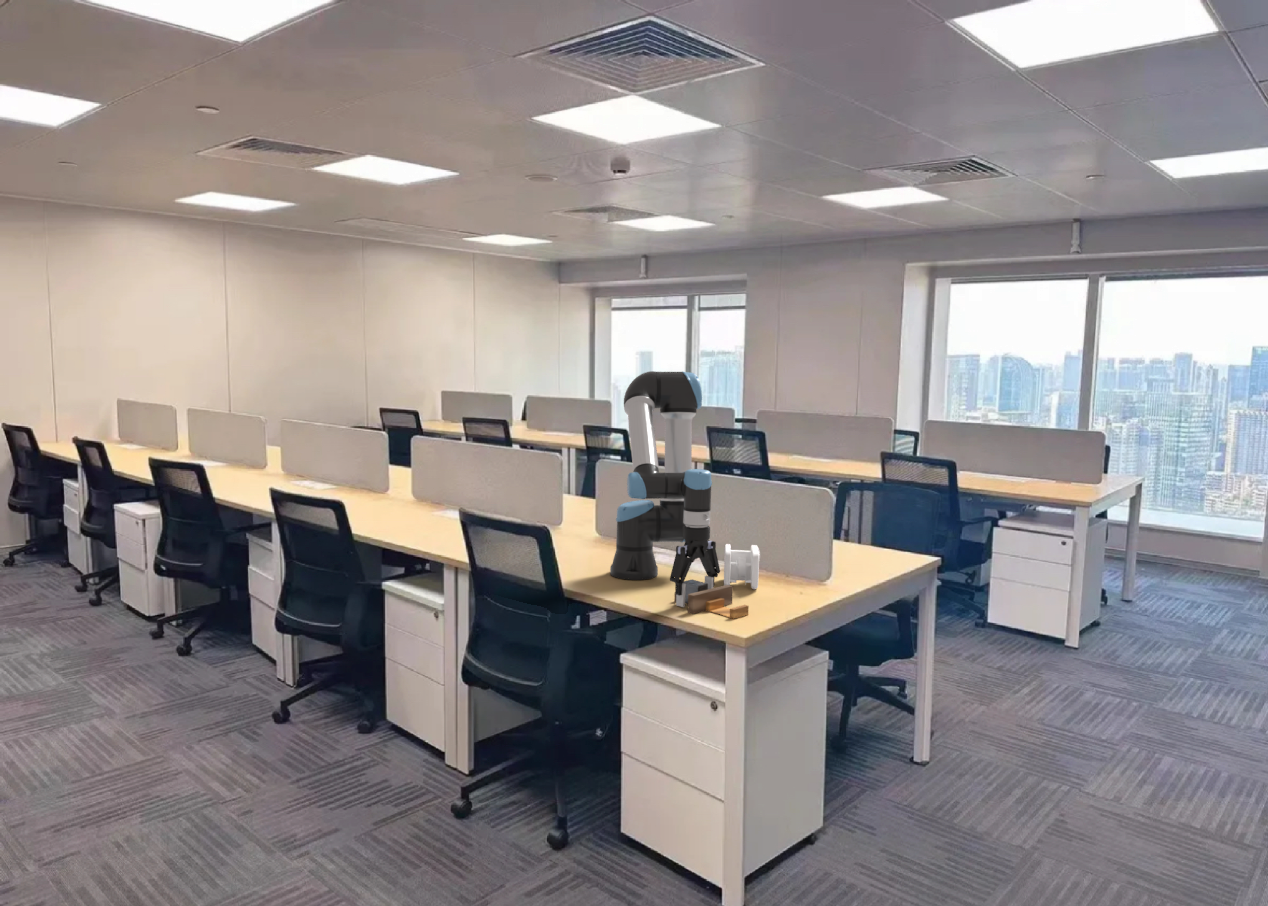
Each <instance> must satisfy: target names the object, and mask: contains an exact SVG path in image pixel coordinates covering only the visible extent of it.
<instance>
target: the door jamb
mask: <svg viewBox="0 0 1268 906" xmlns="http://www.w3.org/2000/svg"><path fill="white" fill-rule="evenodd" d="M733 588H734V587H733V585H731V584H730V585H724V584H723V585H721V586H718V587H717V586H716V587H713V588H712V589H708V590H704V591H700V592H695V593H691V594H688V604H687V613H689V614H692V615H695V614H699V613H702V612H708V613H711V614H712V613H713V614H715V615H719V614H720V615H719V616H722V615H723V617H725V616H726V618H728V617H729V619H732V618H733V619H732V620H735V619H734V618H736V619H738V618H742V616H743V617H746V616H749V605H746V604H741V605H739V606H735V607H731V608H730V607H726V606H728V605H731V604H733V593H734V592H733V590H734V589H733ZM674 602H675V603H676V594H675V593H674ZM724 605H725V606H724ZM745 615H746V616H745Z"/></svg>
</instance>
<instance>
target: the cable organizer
mask: <svg viewBox="0 0 1268 906" xmlns="http://www.w3.org/2000/svg"><path fill="white" fill-rule="evenodd" d="M731 548H732V547H731V544H730V543H726V544H725V546H724V559H723V560H724V561H723V563H724V564H723V565H724V567H723V586H724V585H730V586H731V583H733V584H734V583H735V584H737V581H742V582H743V581H744V584H745V586H746V585H747V584H750V588H751V589H752V590H756V589H758V587H759V572H760V571H759V570H760V569H759V568H760V561H761V551H760V548H759V547H758V545H757V544H751V546H750V550H743V549H742V550H741V549H731Z"/></svg>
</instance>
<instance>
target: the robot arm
mask: <svg viewBox="0 0 1268 906" xmlns="http://www.w3.org/2000/svg"><path fill="white" fill-rule="evenodd" d="M702 400H703V394H702V386H701V381H700V379H699V377H698V375H697V374H696V373H694V372H688V371H646V372H643V373H641V374H639V375H638V376H636V377H635V378H634V379H633V380H632V381H631V382H630V384H629V385H628V387H627V389H626V390H625V393H624V396H623V409H624V412H625V413H626V415H627V416H628V417H627V419H628V428H629V438H630V450H631V451H630V452H631V460H632V463H631V464H632V471H633V472H629V473H628V474H627V478H626V479H627V480H626V482H627V483H626V486H627V487H626V488H627V490H626V492H627V495H628V497H629V498H631V499H636V500H632V501H627V502H623V503H622V504H620V505H619V506H618V507H617V510H616V519H615V522H616V538H615V539H616V543H615V544H616V545H615V549H616V550H615V553H614V556H613V559H612V564H611V565H610V570H609V571H610V573H609V574H610V576H611V577H613V578H617V579H622V580H628V581H629V580H631V581H641V580H642V581H643V580H649V579H654V578H657V576H658V573H659V567H658V565H657V562H656V557H655V555H654V549H653V548H654V547H653V546H654V545H653V544H654V543H675V542H676V543H684V545H681V546H680V545H677V546H676V547H675V557H674V561H673V565H672V567H671V572H670V576H669V581H670V582H673V583H674V585H675V592H674V595H675V594H676V602H675V605H676V607H677V606H678V607H681V608H686V603H685V587H686V584H685V583H683V582H684V581H686V578H687V575H688V573H689V570H690V568H691V566H692V563H694V562H695V560H697V559H699V560H700V563H701V564H702V567H703V569H704V570H705V573H706V575H704V583H707V584H708V589H712V588H715V578H718V575H719V574H720V572H721V568H720V565H719V559H718V555H717V550H716V548H717V547H716V546H717V545H716V544H717V543H716V541H714V540H710V539H711V527H710V526H709V525H710V524H711V509H712V507H711V505H712V504H711V502H712V485H713V482H712V472H711V471H710V470H707V469H704V468H703V469H701V468H694V469H693V468H692V466H693V465H692V455H693V454H692V446H693V445H692V443H693V442H692V441H693V438H692V436H693V433H692V426H693V425H692V424H693V422H692V421H693V418H695V416H696V415H697V410H699V409H700V410H701V407H702V405H703V401H702ZM655 409H659V414H660V415H661V417H662V418H663V419H664V472H660V469H659V468H660V466H659V458H658V452H657V451H658V450H657V441H656V435H655V426H654V425H655V423H654V416H653V415H654V414H653V412H654V410H655ZM637 499H639V500H637ZM652 499H655V500H656V499H659V505H655V503H654V501H653V500H652Z"/></svg>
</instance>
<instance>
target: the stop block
mask: <svg viewBox="0 0 1268 906" xmlns="http://www.w3.org/2000/svg"><path fill="white" fill-rule="evenodd" d="M683 583H685V584H686V587H685V605H688V594H691V593H695V592H700V591H704V590H708V584H707V583H705V581H704V582H703V581H699V580H697V579H689V580H684V582H683Z"/></svg>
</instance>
